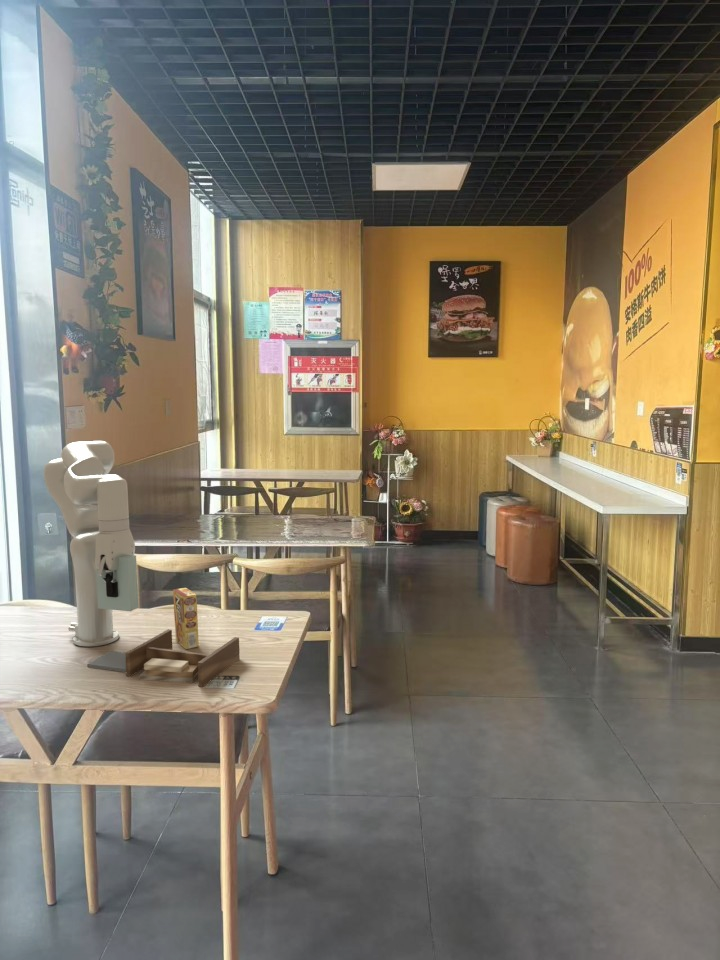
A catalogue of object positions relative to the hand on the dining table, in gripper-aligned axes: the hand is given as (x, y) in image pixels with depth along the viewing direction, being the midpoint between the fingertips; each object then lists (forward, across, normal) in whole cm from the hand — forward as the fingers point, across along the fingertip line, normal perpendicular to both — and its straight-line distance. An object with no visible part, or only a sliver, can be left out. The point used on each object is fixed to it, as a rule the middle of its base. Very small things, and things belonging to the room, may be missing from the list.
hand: (117, 593), depth 188 cm
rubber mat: (+19, 0, -1) cm, 19 cm away
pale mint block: (+4, 0, 0) cm, 4 cm away
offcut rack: (+19, -3, +17) cm, 26 cm away
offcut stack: (+20, +4, +17) cm, 26 cm away
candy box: (+19, -18, +8) cm, 28 cm away
